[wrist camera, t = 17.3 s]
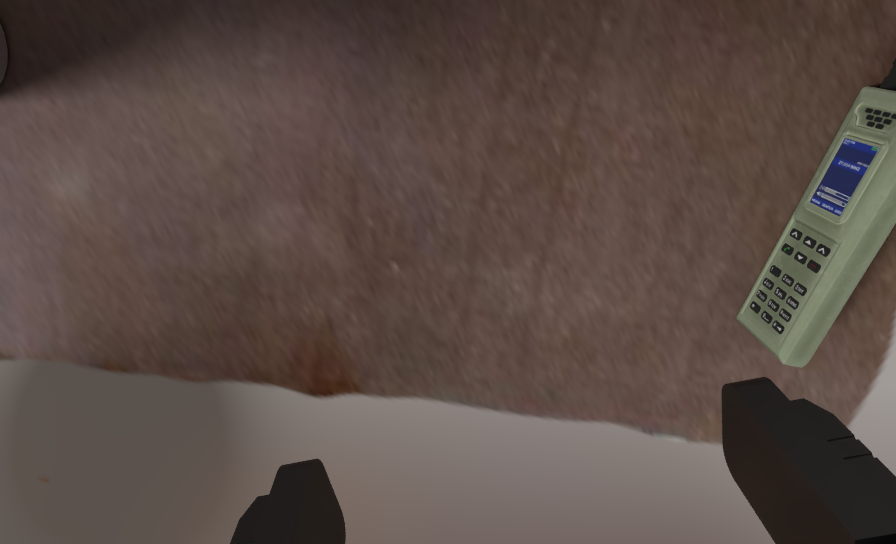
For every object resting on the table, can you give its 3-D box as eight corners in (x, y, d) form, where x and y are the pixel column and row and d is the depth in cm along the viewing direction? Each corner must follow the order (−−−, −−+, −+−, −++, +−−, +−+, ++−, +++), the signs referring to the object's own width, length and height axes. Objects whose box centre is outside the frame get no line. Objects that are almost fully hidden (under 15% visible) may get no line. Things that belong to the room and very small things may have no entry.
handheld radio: (727, 317, 47) (900, -4, 38) (762, 325, 48) (941, 10, 38) (773, 362, 41) (994, -6, 32) (812, 370, 42) (1041, 11, 32)
